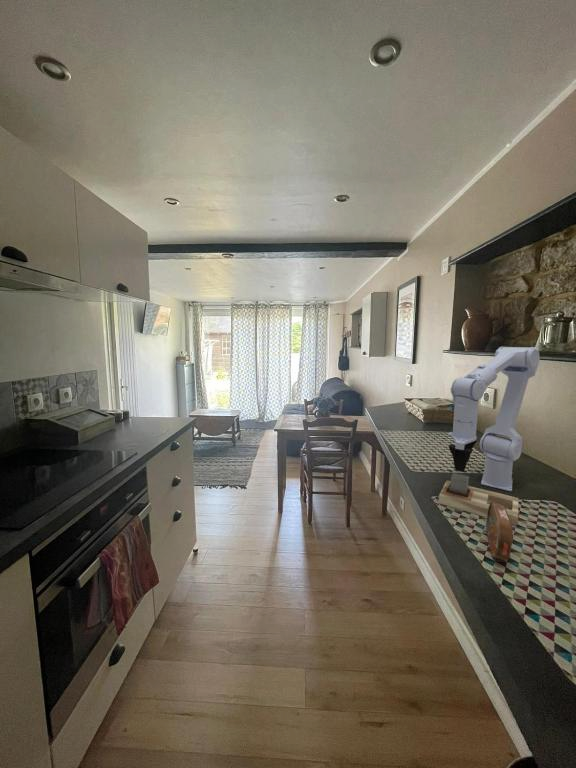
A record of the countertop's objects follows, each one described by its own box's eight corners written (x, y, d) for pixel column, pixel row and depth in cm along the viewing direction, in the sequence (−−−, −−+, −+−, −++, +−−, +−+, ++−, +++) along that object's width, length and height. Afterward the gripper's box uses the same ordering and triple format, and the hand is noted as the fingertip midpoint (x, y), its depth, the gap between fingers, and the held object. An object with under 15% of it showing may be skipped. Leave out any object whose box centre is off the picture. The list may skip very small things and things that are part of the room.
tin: (485, 525, 76) (487, 494, 75) (500, 529, 75) (503, 497, 73) (493, 566, 63) (496, 529, 62) (511, 571, 61) (515, 533, 60)
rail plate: (446, 487, 95) (446, 479, 95) (517, 506, 84) (518, 497, 84) (438, 503, 86) (439, 494, 86) (517, 526, 76) (518, 516, 75)
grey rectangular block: (452, 494, 91) (453, 473, 90) (467, 499, 89) (469, 476, 87) (449, 500, 88) (450, 478, 87) (465, 505, 85) (466, 481, 84)
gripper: (453, 412, 93) (451, 454, 95) (444, 424, 82) (441, 471, 84) (480, 416, 89) (477, 460, 91) (474, 428, 77) (470, 478, 79)
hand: (461, 465), depth 87 cm, fingers open, 7 cm apart
